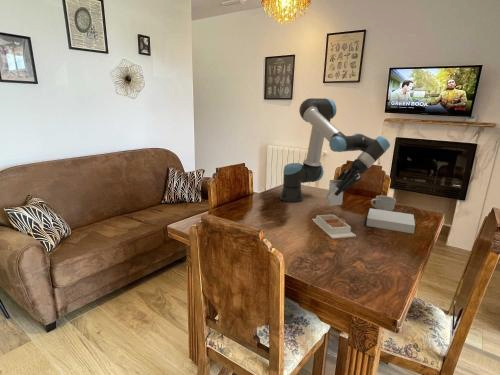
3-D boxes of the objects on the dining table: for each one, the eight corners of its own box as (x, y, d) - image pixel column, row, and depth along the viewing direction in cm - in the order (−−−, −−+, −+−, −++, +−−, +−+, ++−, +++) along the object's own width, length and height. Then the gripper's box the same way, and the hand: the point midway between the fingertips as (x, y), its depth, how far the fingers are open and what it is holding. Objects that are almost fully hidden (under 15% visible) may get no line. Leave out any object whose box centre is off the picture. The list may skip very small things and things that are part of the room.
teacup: (390, 208, 179) (392, 195, 177) (397, 214, 168) (399, 201, 166) (366, 207, 180) (368, 194, 178) (371, 213, 170) (373, 200, 168)
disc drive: (367, 215, 167) (368, 207, 166) (412, 222, 158) (413, 213, 157) (364, 226, 152) (365, 217, 151) (413, 234, 143) (415, 225, 141)
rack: (332, 238, 136) (333, 230, 135) (311, 219, 159) (312, 212, 158) (355, 236, 139) (356, 228, 138) (332, 218, 161) (332, 211, 160)
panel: (330, 205, 143) (332, 181, 140) (327, 203, 146) (329, 180, 143) (342, 204, 144) (344, 181, 141) (338, 202, 147) (341, 179, 144)
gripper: (376, 172, 136) (340, 208, 137) (357, 165, 151) (325, 198, 153) (367, 161, 134) (331, 198, 135) (349, 155, 149) (316, 188, 150)
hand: (328, 198), depth 144 cm, fingers closed on panel, 3 cm apart
